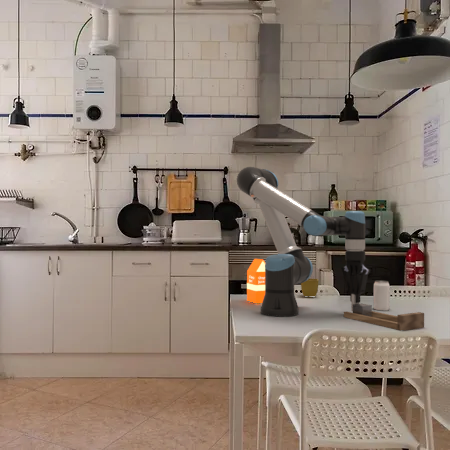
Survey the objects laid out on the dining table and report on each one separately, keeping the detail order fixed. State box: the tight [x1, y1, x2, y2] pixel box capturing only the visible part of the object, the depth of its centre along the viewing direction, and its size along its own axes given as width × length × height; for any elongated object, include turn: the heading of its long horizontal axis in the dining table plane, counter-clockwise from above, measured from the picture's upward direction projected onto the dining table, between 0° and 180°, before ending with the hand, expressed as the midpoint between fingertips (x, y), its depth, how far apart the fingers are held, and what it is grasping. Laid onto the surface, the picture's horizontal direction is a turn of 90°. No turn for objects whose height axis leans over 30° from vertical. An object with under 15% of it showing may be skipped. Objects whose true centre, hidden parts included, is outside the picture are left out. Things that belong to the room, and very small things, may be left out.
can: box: [373, 280, 391, 312], centre depth 191 cm, size 6×6×12 cm
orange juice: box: [246, 258, 266, 304], centre depth 208 cm, size 8×9×20 cm
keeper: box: [352, 302, 373, 317], centre depth 173 cm, size 5×5×5 cm
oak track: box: [343, 310, 425, 331], centre depth 165 cm, size 11×27×5 cm, turn 30°
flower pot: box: [300, 278, 320, 297], centre depth 226 cm, size 9×9×9 cm
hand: (355, 310), depth 176 cm, fingers closed
